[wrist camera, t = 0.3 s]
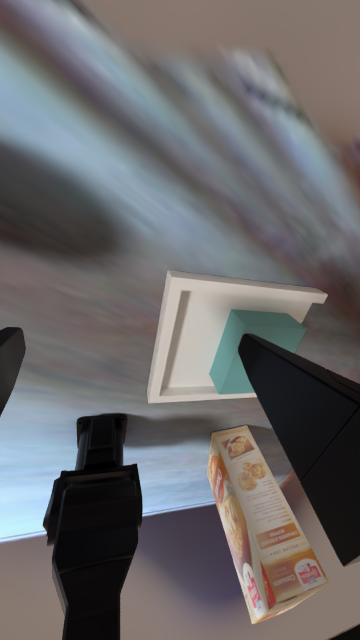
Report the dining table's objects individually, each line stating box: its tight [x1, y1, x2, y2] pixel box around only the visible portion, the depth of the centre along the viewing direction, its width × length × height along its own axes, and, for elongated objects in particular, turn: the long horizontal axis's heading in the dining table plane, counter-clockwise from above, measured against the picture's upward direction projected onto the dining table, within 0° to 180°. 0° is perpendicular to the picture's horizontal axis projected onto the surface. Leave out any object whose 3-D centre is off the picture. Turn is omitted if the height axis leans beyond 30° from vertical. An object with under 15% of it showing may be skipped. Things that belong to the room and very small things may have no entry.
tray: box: [147, 270, 328, 403], centre depth 28 cm, size 17×19×2 cm
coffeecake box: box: [207, 425, 330, 624], centre depth 36 cm, size 15×7×20 cm, turn 0°
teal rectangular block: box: [209, 309, 307, 395], centre depth 28 cm, size 10×8×4 cm
